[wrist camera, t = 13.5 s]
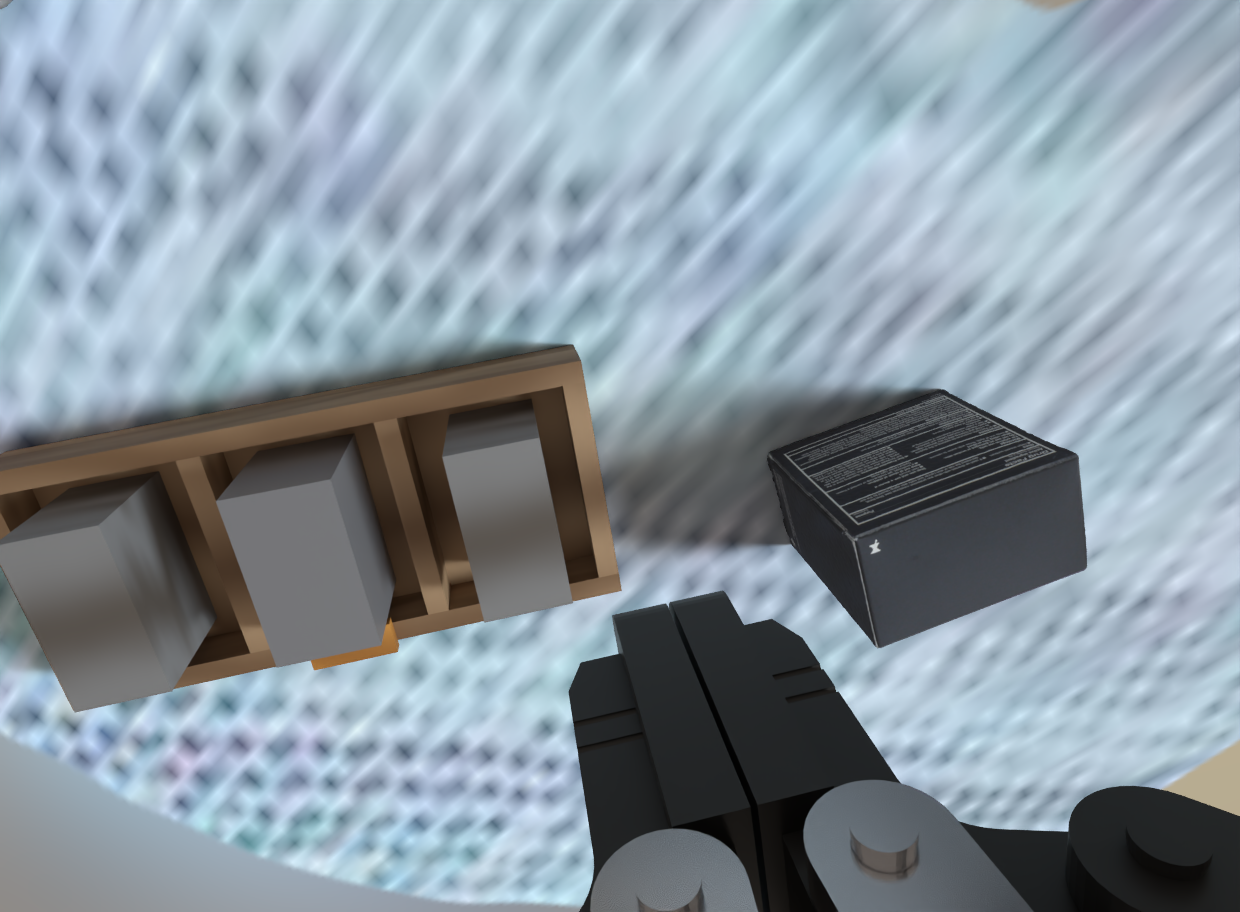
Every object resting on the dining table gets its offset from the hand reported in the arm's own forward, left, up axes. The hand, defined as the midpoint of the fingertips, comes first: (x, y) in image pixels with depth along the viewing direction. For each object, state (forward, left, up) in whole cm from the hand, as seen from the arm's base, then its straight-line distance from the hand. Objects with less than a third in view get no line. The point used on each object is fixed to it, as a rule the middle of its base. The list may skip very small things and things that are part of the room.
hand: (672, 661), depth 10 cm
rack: (+8, -12, -29) cm, 32 cm away
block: (+8, -12, -28) cm, 32 cm away
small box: (+12, +16, -29) cm, 35 cm away
